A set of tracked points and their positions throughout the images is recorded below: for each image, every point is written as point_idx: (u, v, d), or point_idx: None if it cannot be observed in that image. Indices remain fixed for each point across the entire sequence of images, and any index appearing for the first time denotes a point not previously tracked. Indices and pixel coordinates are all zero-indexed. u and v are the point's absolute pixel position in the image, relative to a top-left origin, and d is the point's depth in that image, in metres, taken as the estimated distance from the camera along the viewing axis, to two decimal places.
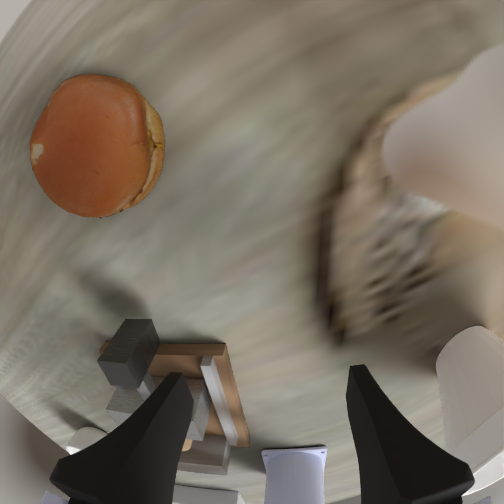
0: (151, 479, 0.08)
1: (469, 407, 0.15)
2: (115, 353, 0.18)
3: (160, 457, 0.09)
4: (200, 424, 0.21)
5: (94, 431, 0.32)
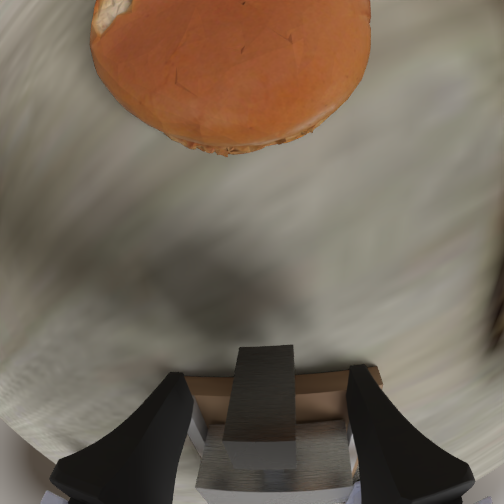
0: (151, 479, 0.08)
1: None
2: (257, 421, 0.09)
3: (160, 457, 0.09)
4: None
5: None
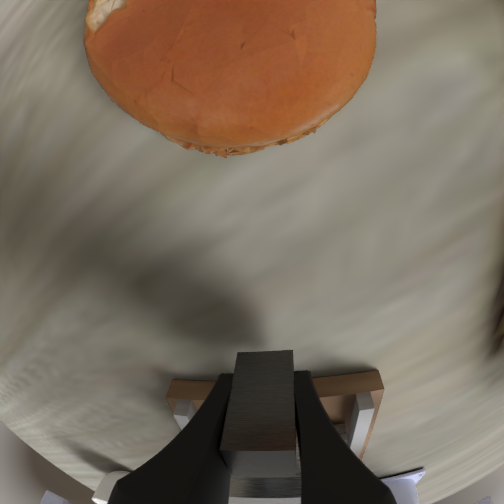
0: (215, 489, 0.07)
1: None
2: (255, 430, 0.09)
3: (220, 464, 0.08)
4: None
5: None
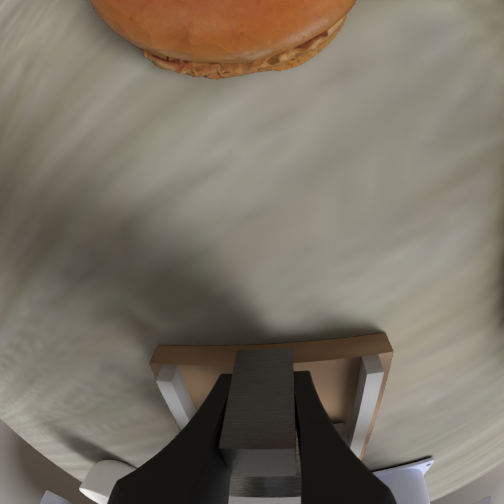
0: (215, 489, 0.07)
1: None
2: (255, 428, 0.09)
3: (220, 464, 0.08)
4: None
5: (118, 467, 0.22)
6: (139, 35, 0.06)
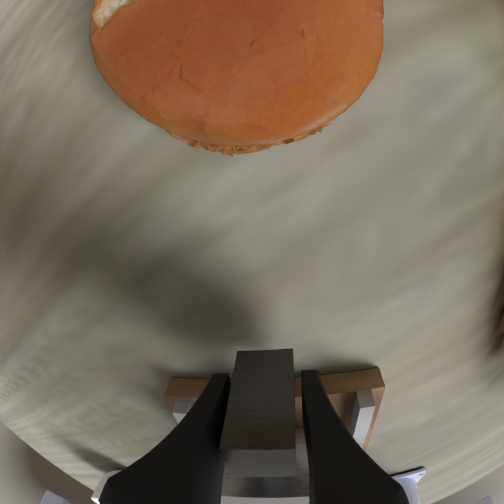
0: (206, 488, 0.07)
1: None
2: (255, 428, 0.09)
3: (212, 464, 0.08)
4: None
5: None
6: (152, 115, 0.07)
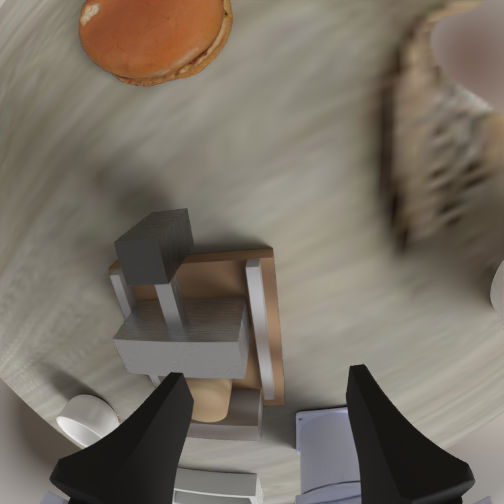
0: (151, 479, 0.08)
1: None
2: (140, 233, 0.14)
3: (160, 457, 0.09)
4: (243, 353, 0.17)
5: (91, 398, 0.29)
6: (106, 66, 0.13)
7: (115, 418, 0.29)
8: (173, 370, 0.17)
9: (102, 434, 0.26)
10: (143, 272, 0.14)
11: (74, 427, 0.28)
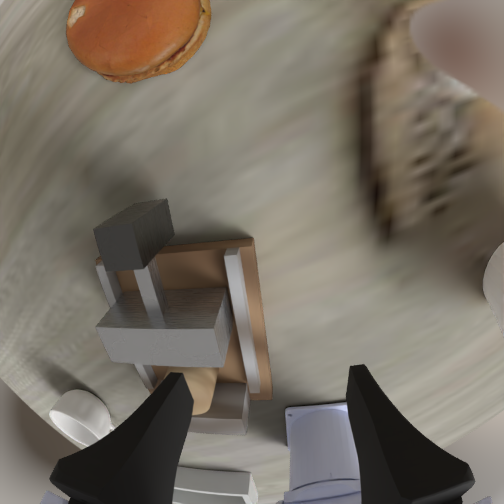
0: (151, 479, 0.08)
1: None
2: (118, 221, 0.14)
3: (160, 457, 0.09)
4: (221, 341, 0.17)
5: (83, 393, 0.29)
6: (90, 65, 0.13)
7: (107, 413, 0.29)
8: (153, 358, 0.17)
9: (93, 429, 0.26)
10: (120, 258, 0.14)
11: (67, 422, 0.28)
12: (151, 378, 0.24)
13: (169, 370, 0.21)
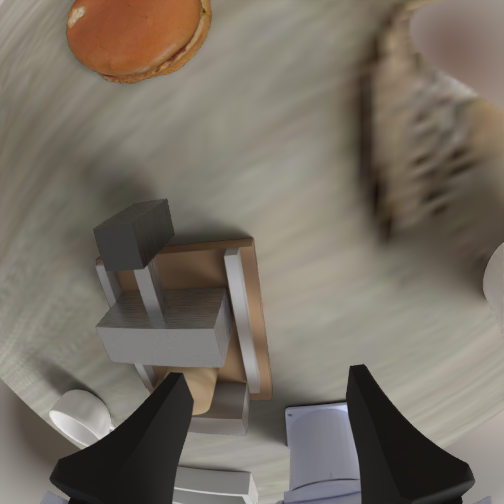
0: (151, 479, 0.08)
1: None
2: (118, 221, 0.14)
3: (160, 457, 0.09)
4: (221, 341, 0.17)
5: (83, 393, 0.29)
6: (90, 65, 0.13)
7: (107, 413, 0.29)
8: (153, 358, 0.17)
9: (93, 429, 0.26)
10: (120, 258, 0.14)
11: (67, 422, 0.28)
12: (151, 378, 0.24)
13: (169, 370, 0.21)
